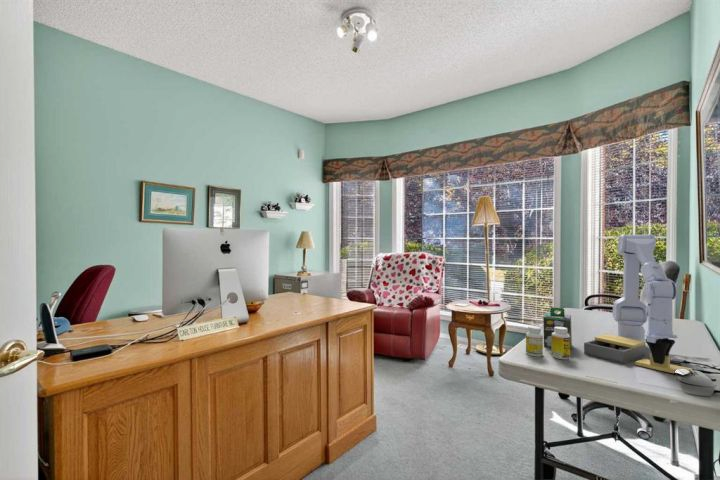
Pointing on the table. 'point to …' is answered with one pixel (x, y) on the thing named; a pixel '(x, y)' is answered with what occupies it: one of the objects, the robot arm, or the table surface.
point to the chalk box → (555, 325)
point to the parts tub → (615, 348)
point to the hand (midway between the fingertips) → (660, 362)
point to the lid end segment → (660, 365)
